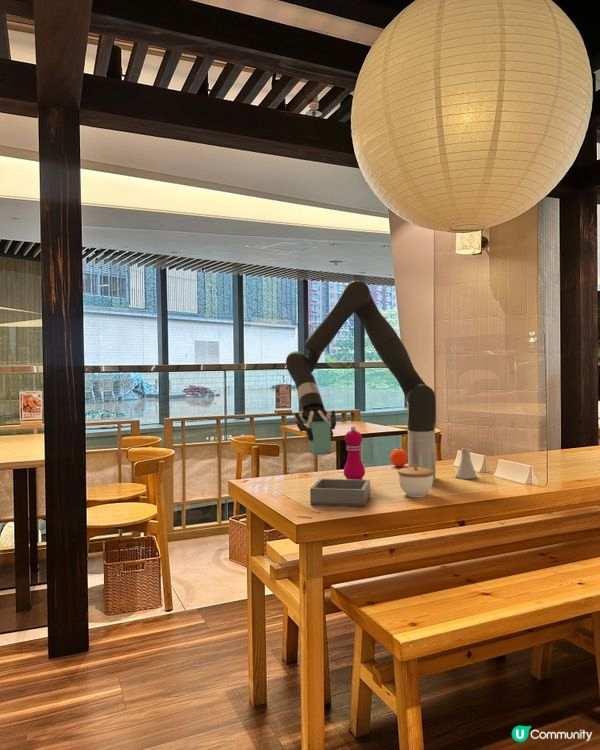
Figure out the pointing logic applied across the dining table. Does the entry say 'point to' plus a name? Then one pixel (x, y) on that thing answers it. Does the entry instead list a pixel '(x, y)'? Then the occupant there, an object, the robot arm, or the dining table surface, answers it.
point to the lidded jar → (415, 480)
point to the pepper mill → (354, 455)
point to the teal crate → (320, 438)
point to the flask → (466, 466)
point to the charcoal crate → (340, 492)
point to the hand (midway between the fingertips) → (321, 438)
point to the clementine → (398, 457)
